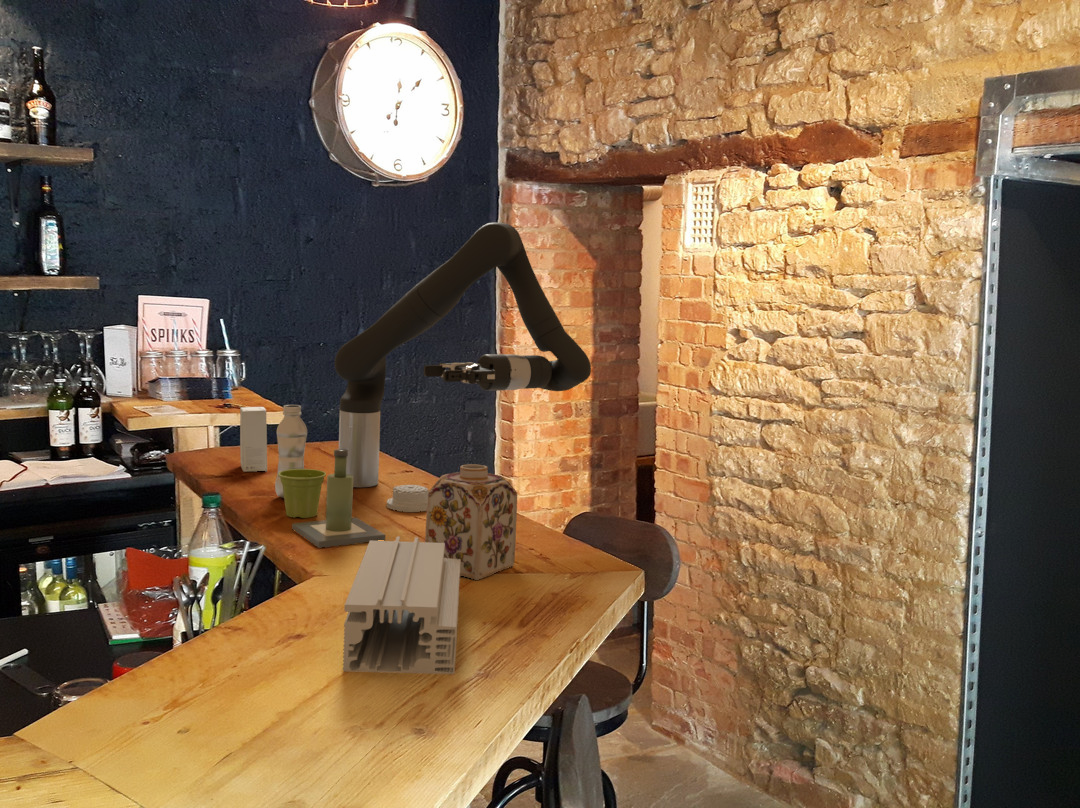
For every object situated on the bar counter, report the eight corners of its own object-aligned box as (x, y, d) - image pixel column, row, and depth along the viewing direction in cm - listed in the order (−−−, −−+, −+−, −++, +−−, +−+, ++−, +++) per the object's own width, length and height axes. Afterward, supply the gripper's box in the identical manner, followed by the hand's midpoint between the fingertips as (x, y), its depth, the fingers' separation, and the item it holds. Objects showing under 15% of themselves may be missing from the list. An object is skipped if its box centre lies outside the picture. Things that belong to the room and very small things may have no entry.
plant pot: (268, 513, 211) (268, 471, 210) (307, 507, 218) (308, 466, 217) (294, 523, 205) (295, 480, 204) (334, 516, 212) (335, 474, 210)
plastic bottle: (268, 498, 224) (269, 406, 221) (287, 493, 230) (288, 402, 227) (293, 502, 221) (295, 409, 218) (312, 496, 227) (314, 405, 225)
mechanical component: (428, 515, 218) (437, 504, 227) (428, 494, 217) (438, 484, 227) (381, 511, 219) (393, 501, 228) (381, 490, 218) (393, 481, 228)
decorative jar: (477, 582, 174) (481, 476, 171) (422, 568, 180) (425, 465, 177) (516, 566, 184) (521, 465, 181) (463, 554, 190) (467, 456, 187)
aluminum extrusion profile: (459, 600, 165) (461, 538, 164) (454, 676, 135) (457, 601, 134) (367, 597, 164) (369, 535, 163) (342, 673, 134) (344, 598, 133)
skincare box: (267, 472, 250) (268, 410, 248) (241, 472, 248) (242, 410, 246) (264, 465, 258) (265, 405, 256) (239, 465, 256) (239, 405, 254)
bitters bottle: (321, 525, 198) (324, 448, 196) (345, 523, 201) (348, 447, 199) (330, 532, 194) (333, 453, 192) (355, 530, 197) (358, 452, 195)
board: (292, 529, 200) (292, 522, 200) (355, 523, 207) (355, 516, 207) (318, 548, 188) (318, 541, 188) (385, 540, 196) (385, 534, 195)
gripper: (487, 350, 223) (418, 351, 214) (522, 357, 211) (451, 358, 202) (485, 385, 224) (417, 387, 215) (520, 394, 212) (449, 396, 203)
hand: (433, 373), depth 209 cm, fingers open, 8 cm apart
